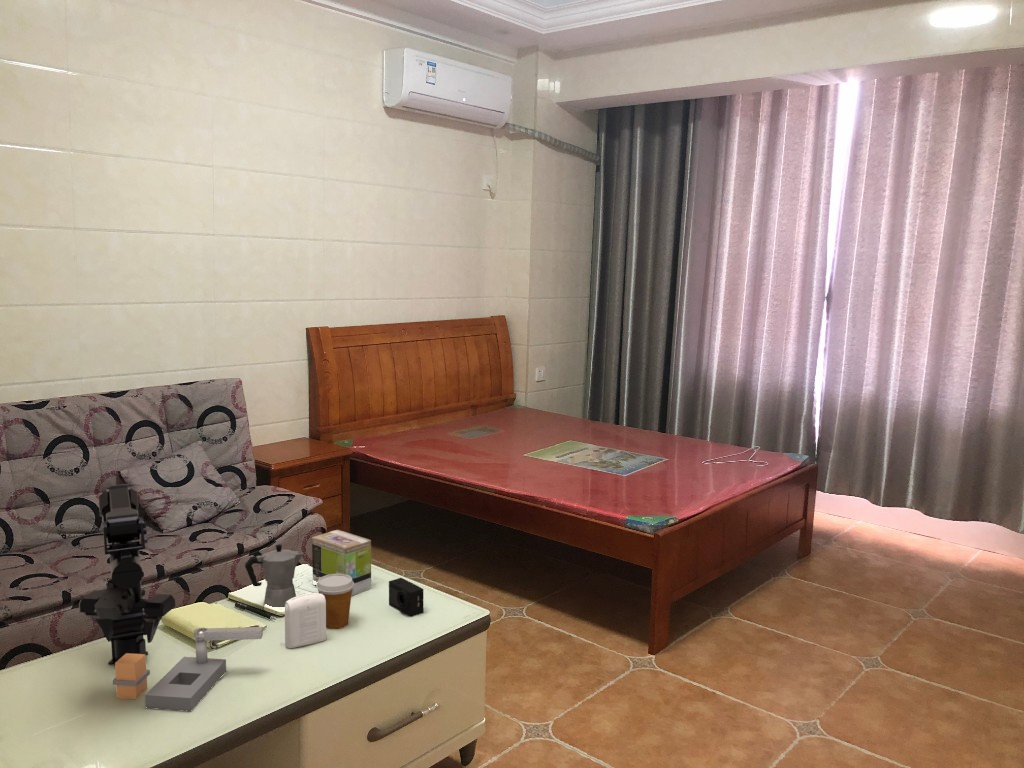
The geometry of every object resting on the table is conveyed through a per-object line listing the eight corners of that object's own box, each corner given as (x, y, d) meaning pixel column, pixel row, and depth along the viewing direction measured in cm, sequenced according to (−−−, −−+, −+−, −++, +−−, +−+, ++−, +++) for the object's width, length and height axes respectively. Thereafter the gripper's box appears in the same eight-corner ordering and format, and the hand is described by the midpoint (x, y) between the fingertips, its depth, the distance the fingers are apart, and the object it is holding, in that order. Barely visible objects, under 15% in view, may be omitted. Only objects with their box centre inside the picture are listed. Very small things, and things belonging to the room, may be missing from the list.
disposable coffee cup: (362, 621, 219) (361, 578, 217) (336, 635, 211) (335, 590, 209) (335, 613, 224) (334, 570, 222) (309, 626, 216) (308, 581, 214)
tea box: (372, 588, 240) (372, 539, 238) (345, 599, 233) (344, 548, 230) (338, 575, 250) (338, 527, 247) (311, 585, 242) (310, 536, 240)
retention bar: (260, 639, 189) (260, 631, 189) (192, 641, 188) (192, 633, 188) (263, 634, 192) (263, 626, 192) (196, 636, 191) (195, 627, 190)
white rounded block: (322, 634, 211) (321, 587, 209) (329, 640, 208) (328, 593, 206) (282, 644, 206) (281, 596, 204) (288, 651, 202) (287, 602, 200)
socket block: (145, 708, 176) (143, 671, 175) (184, 668, 193) (183, 635, 191) (191, 711, 175) (189, 674, 174) (226, 671, 192) (225, 637, 191)
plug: (113, 698, 180) (111, 663, 178) (127, 686, 185) (125, 652, 184) (137, 700, 179) (135, 665, 178) (150, 687, 184) (148, 653, 183)
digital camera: (384, 606, 229) (384, 581, 228) (401, 600, 232) (401, 576, 231) (406, 618, 221) (406, 593, 220) (423, 613, 225) (423, 588, 224)
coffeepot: (301, 597, 233) (299, 535, 230) (309, 610, 225) (307, 546, 222) (243, 607, 226) (241, 543, 223) (250, 621, 218) (247, 555, 215)
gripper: (60, 584, 171) (65, 655, 173) (147, 589, 169) (151, 661, 171) (92, 564, 182) (96, 632, 184) (174, 568, 180) (178, 637, 182)
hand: (129, 640), depth 180 cm, fingers open, 9 cm apart
